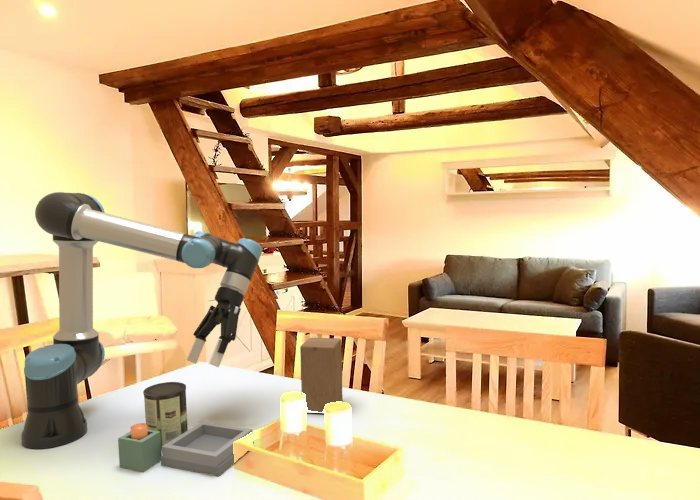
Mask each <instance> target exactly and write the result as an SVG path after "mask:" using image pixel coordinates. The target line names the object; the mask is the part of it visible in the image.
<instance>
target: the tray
mask: <svg viewBox="0 0 700 500" xmlns="http://www.w3.org/2000/svg"><path fill="white" fill-rule="evenodd" d="M250 432H252V433H253V428H246V427H240V426H234V425H233V426H232V425H225V424H220V423H213V422H208V421H201V422H199V423H197V424H196V425H194V426H192V427H190V428H189V429H188V431H186V432H184V433H183V434H181V435H180V436H178V437H176V438H175V439H173V440H172V441H170V442H169V443H167V444H165V445H164V446H162V451H161V453H162V456H161V461H160V465H161V466H165V467H169V466H170V467H171V468H175V469H180V470H185V471H191V472H194V473H195V472H196V473H199V474H200V473H201V474H205V475H211V476H214V477H215V476H216V477H220V476H221V475H222V474H224V473H225V472H226V471H227V470H229V468H231V467H232V466H233V465H234V464H235V463H234V454H233V442H234V441H236V440H238V439H240V438H242V437H244V436H246V435H247V434H249V433H250Z"/></svg>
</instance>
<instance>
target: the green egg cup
mask: <svg viewBox="0 0 700 500" xmlns="http://www.w3.org/2000/svg"><path fill="white" fill-rule="evenodd" d="M147 430H148V429H147ZM117 442H118V443H117V446H118V459H119V460H118V463H119V468H121V469H126V470H132V471H137V472H140V473H144V472H146V471H148V470H149V469H150V468H153V466H156V464H158V463H161V456H162V451H161V434H160V431H154V430H148V436H146V437H145V438H143V439H141V440H137V439H131V430H130V431H129V432H127V433H125V434H123V435H121V436H120V437H118V438H117Z"/></svg>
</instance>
